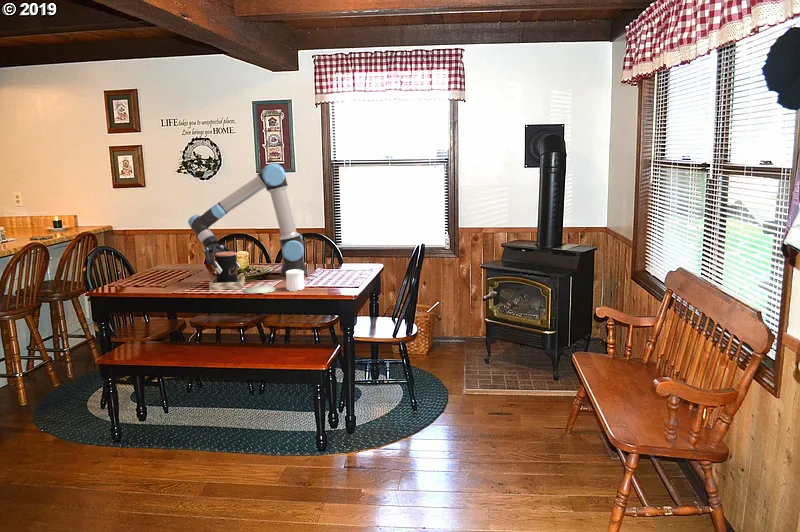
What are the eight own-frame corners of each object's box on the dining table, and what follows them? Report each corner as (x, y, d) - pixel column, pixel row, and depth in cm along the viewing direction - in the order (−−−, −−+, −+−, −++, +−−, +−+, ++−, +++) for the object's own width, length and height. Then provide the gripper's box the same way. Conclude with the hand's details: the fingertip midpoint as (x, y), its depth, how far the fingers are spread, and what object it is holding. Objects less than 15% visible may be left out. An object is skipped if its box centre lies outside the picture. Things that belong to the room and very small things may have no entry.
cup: (288, 292, 333) (287, 273, 331) (283, 288, 342) (283, 270, 340) (307, 290, 336) (306, 271, 335) (301, 286, 345) (301, 268, 344)
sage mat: (276, 286, 346) (276, 285, 346) (274, 293, 331) (274, 292, 331) (245, 287, 344) (245, 286, 344) (242, 294, 329) (242, 293, 329)
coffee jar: (232, 288, 343) (230, 254, 340) (213, 288, 345) (211, 254, 342) (241, 284, 353) (239, 251, 350) (223, 284, 355) (220, 251, 352)
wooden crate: (245, 282, 358) (244, 276, 357) (241, 288, 342) (241, 282, 341) (214, 283, 356) (213, 277, 355) (209, 290, 340) (209, 283, 339)
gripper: (222, 241, 363) (243, 271, 358) (187, 247, 343) (209, 278, 338) (228, 232, 360) (250, 262, 354) (193, 237, 340) (215, 269, 334)
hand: (230, 270), depth 346 cm, fingers open, 12 cm apart
